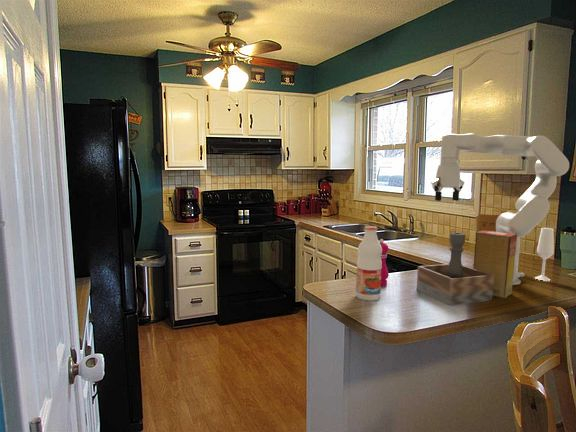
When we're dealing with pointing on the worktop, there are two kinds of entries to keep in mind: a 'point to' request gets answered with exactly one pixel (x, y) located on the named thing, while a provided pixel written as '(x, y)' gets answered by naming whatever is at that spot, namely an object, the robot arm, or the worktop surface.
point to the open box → (455, 284)
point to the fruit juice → (369, 266)
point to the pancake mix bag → (486, 222)
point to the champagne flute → (545, 249)
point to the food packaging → (496, 259)
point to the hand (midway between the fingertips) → (446, 200)
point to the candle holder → (456, 255)
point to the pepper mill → (384, 263)
